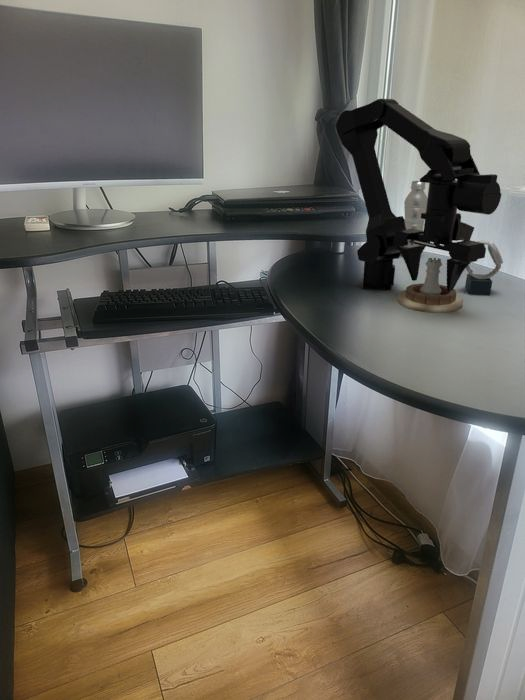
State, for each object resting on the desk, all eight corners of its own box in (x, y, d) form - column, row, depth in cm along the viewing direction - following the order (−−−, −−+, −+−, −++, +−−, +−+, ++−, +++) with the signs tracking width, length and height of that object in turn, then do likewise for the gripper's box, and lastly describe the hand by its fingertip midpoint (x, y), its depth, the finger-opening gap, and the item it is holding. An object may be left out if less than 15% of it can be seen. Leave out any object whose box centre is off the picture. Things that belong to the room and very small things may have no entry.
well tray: (398, 310, 103) (399, 297, 102) (396, 291, 114) (398, 280, 113) (466, 314, 100) (468, 301, 99) (458, 294, 112) (459, 283, 111)
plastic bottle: (399, 258, 143) (407, 182, 135) (397, 252, 149) (405, 180, 141) (423, 258, 142) (432, 183, 134) (420, 253, 148) (429, 180, 140)
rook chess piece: (443, 295, 107) (448, 258, 104) (437, 301, 104) (442, 262, 101) (422, 292, 110) (426, 255, 106) (416, 298, 106) (420, 260, 103)
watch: (499, 296, 111) (509, 245, 106) (460, 294, 112) (468, 243, 108) (494, 288, 116) (503, 239, 111) (456, 286, 117) (464, 238, 113)
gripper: (510, 210, 96) (495, 290, 103) (431, 199, 111) (422, 270, 117) (472, 216, 91) (459, 300, 97) (394, 203, 105) (387, 277, 112)
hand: (431, 285), depth 106 cm, fingers open, 9 cm apart
